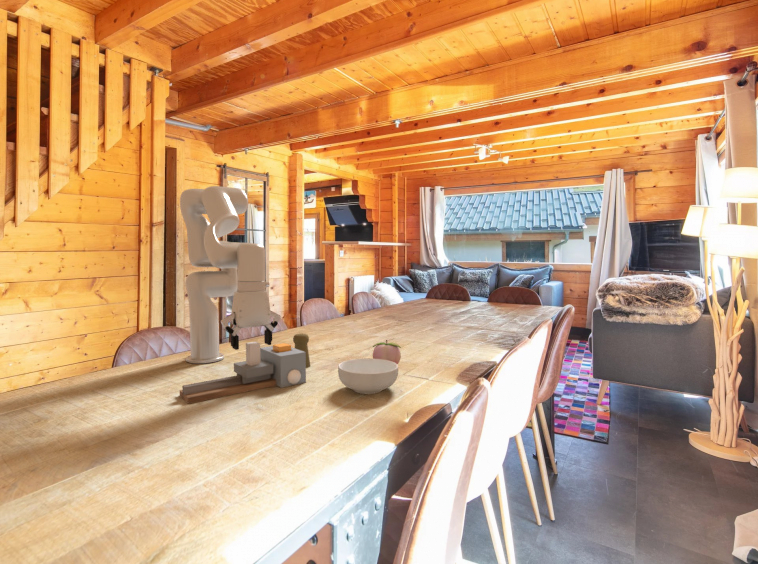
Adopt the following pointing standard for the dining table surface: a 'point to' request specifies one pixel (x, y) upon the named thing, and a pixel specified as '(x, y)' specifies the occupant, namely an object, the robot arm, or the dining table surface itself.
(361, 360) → the cereal bowl
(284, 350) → the button
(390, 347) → the decorative fruit
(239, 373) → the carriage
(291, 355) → the grey button housing
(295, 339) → the cork
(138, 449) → the dining table surface
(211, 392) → the rail track
